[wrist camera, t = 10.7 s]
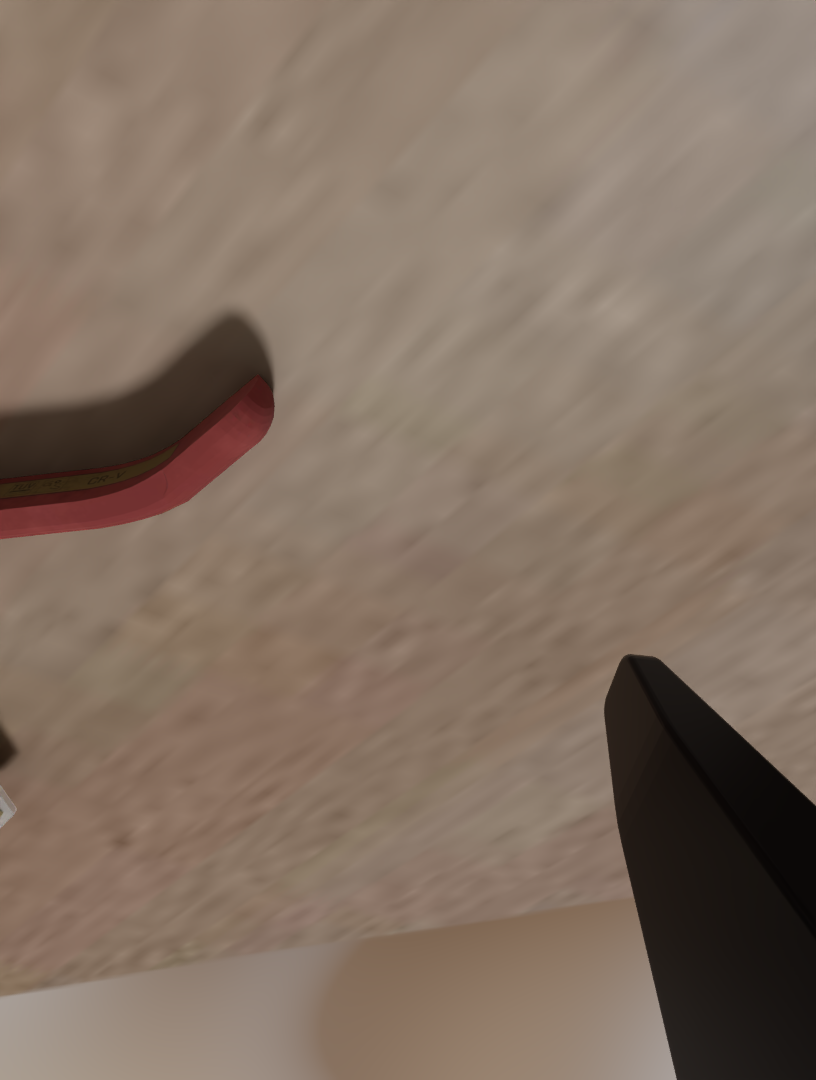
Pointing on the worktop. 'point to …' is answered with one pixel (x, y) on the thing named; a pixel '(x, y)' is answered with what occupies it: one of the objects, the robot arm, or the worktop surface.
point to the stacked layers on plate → (5, 807)
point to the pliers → (138, 475)
